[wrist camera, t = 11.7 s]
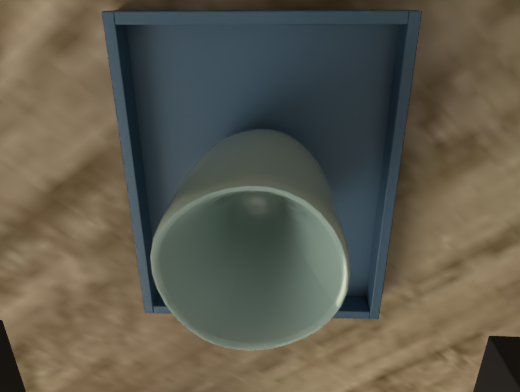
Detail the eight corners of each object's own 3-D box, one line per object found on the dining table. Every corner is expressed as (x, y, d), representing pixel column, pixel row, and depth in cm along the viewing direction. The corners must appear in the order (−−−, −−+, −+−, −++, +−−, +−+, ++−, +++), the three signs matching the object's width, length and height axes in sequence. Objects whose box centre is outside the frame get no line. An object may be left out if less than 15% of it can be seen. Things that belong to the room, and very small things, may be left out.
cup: (345, 208, 26) (378, 320, 17) (230, 250, 28) (205, 372, 19) (297, 90, 23) (306, 148, 14) (172, 144, 25) (110, 227, 16)
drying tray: (410, 9, 22) (422, 10, 20) (372, 299, 29) (378, 319, 28) (115, 10, 22) (101, 11, 21) (152, 294, 30) (144, 313, 28)
